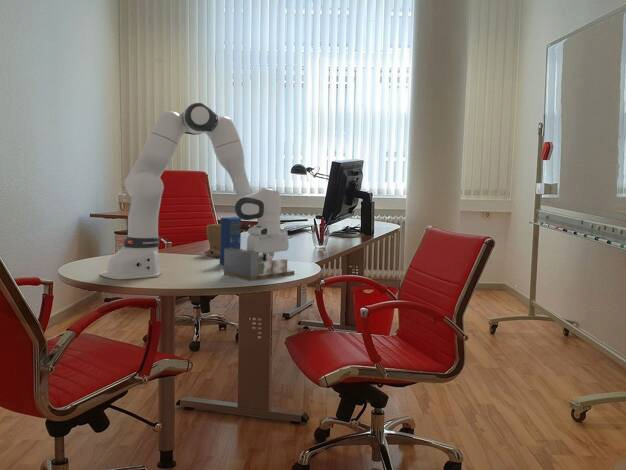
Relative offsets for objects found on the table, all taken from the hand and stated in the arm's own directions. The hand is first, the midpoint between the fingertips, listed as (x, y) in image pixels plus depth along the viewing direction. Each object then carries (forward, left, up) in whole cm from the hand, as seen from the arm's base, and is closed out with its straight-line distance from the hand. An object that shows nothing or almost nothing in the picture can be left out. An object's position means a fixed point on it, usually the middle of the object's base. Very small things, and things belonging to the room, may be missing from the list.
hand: (267, 263), depth 259 cm
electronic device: (+4, +27, -4) cm, 28 cm away
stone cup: (+15, +49, -4) cm, 52 cm away
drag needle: (-9, -7, +3) cm, 12 cm away
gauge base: (-5, -1, -4) cm, 6 cm away
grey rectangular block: (-15, -1, -3) cm, 15 cm away
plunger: (-6, -1, -2) cm, 6 cm away
